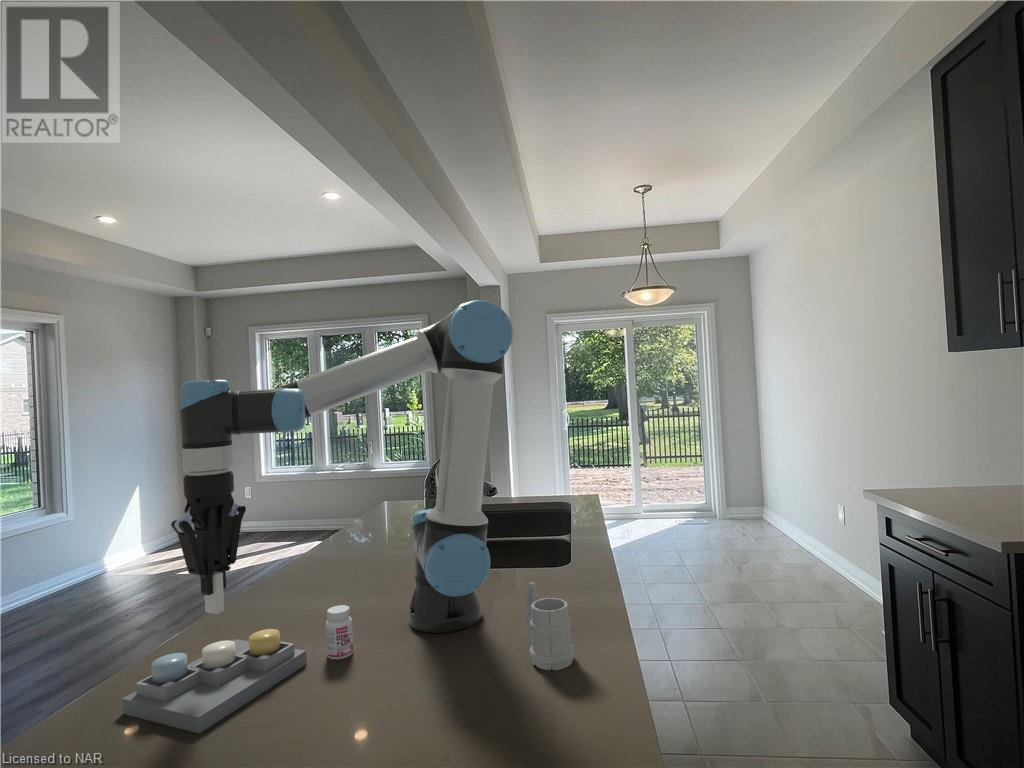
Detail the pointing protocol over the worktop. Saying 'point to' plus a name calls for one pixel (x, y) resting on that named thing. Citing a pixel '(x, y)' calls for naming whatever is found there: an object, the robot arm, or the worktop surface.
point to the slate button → (169, 667)
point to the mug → (549, 631)
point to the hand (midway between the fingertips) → (214, 611)
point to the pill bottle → (339, 632)
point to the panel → (212, 688)
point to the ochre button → (264, 642)
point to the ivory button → (218, 654)
